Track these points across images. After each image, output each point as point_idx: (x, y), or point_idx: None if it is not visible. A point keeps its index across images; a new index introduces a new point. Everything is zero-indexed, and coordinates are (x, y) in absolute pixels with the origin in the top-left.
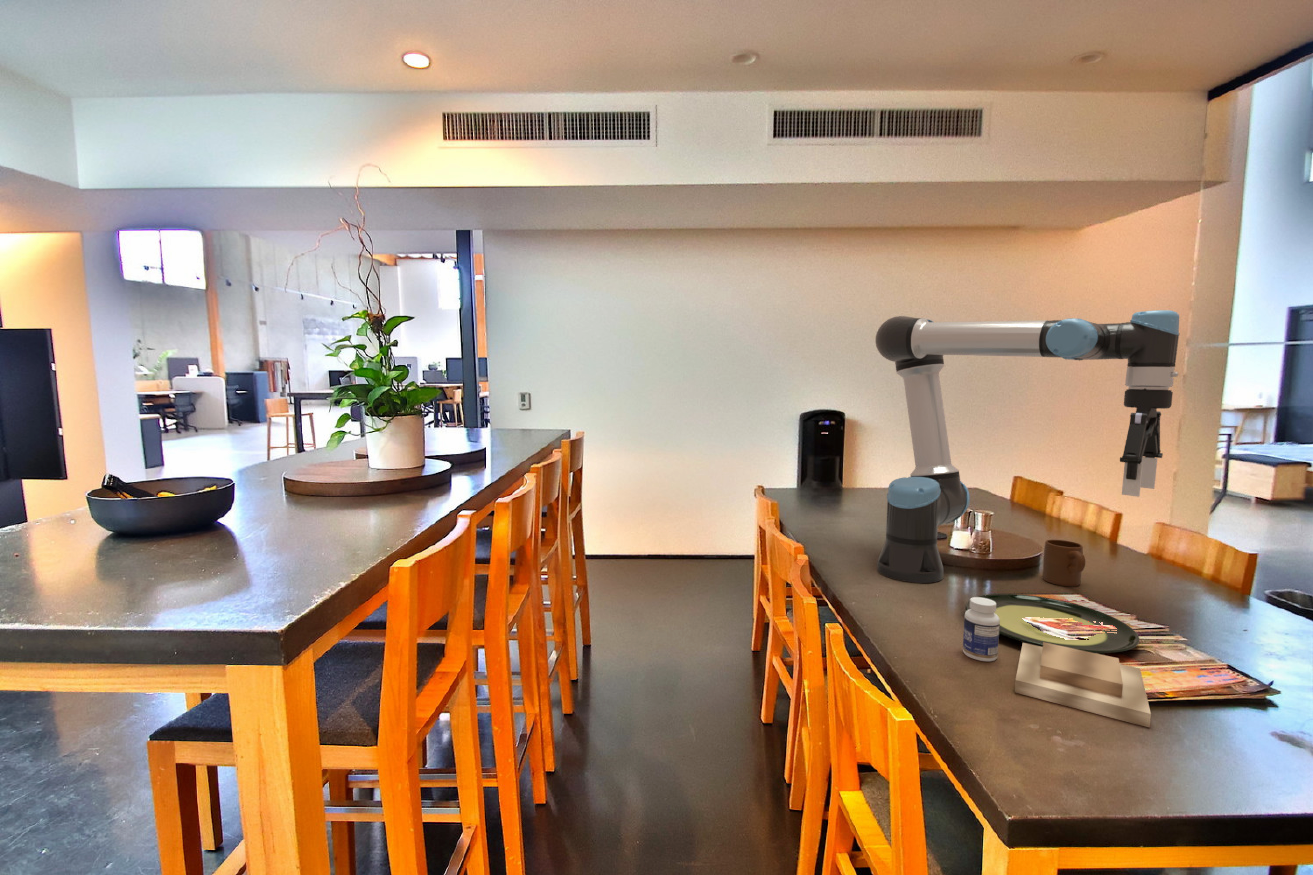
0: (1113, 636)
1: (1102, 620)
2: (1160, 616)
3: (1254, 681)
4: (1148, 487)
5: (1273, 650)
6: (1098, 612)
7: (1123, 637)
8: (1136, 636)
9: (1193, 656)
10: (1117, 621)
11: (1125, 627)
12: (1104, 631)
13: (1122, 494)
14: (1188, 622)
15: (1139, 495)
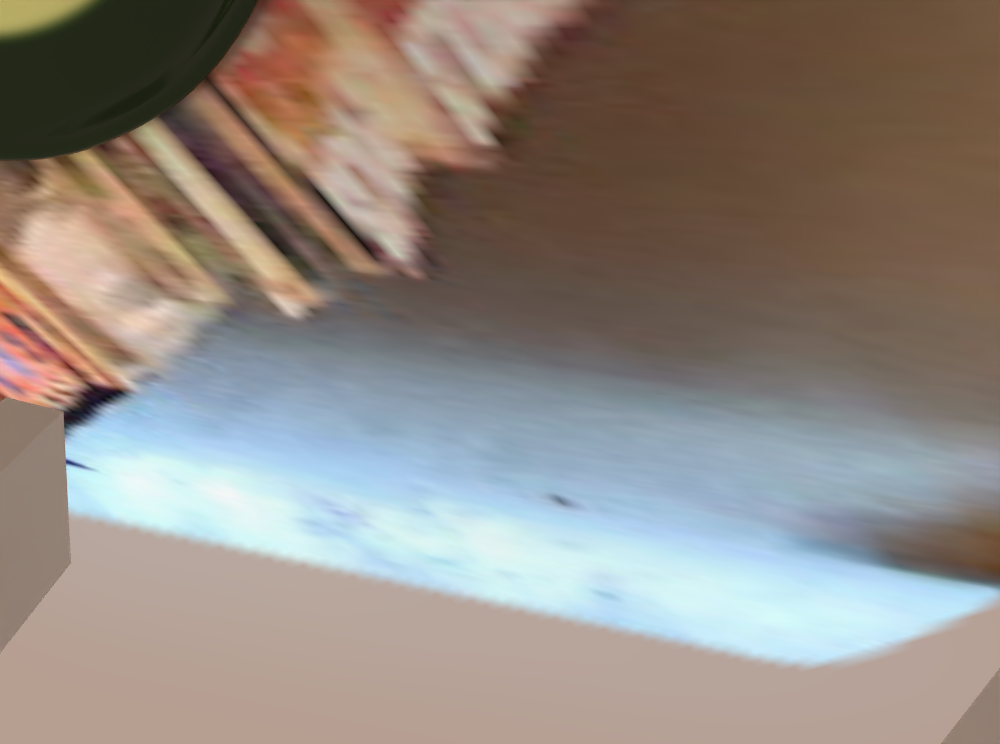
0: (8, 63)
1: (189, 21)
2: (543, 263)
3: None
4: (955, 740)
5: (385, 527)
6: (236, 4)
7: (25, 102)
8: (7, 151)
9: (115, 312)
10: (163, 87)
11: (111, 116)
12: (42, 28)
13: (5, 407)
14: (528, 351)
15: (60, 569)
